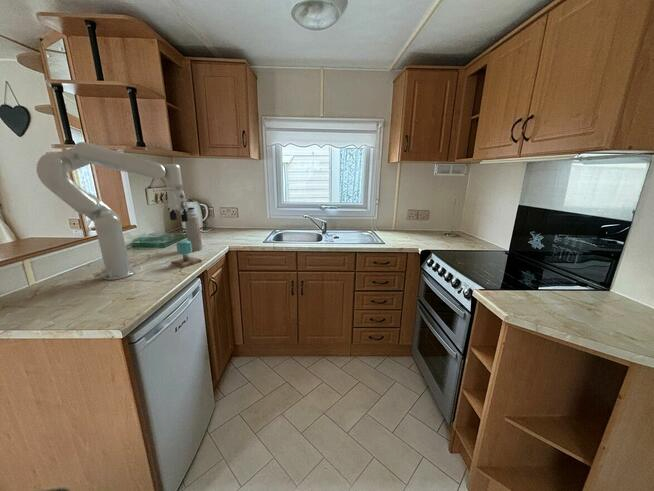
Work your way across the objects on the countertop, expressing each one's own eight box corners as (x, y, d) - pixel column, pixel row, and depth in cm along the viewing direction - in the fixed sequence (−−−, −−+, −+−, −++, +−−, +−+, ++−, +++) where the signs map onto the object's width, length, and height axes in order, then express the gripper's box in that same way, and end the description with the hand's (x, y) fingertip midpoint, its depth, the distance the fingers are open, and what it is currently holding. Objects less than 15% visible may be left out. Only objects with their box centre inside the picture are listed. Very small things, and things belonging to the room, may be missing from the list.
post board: (183, 267, 143) (183, 264, 143) (171, 264, 148) (171, 261, 148) (201, 261, 153) (201, 259, 152) (189, 259, 158) (189, 256, 157)
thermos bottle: (204, 248, 180) (199, 207, 172) (197, 251, 172) (191, 208, 165) (194, 247, 181) (188, 206, 174) (186, 251, 174) (180, 208, 166)
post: (185, 261, 148) (182, 244, 145) (182, 260, 149) (179, 243, 147) (190, 260, 151) (188, 243, 148) (187, 259, 152) (184, 242, 149)
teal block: (183, 254, 144) (181, 244, 143) (175, 253, 148) (173, 242, 146) (194, 251, 150) (193, 241, 148) (186, 250, 153) (185, 240, 152)
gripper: (191, 188, 139) (195, 221, 143) (171, 187, 147) (176, 218, 151) (177, 189, 132) (182, 223, 137) (158, 188, 141) (163, 220, 145)
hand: (179, 220), depth 144 cm, fingers open, 9 cm apart
